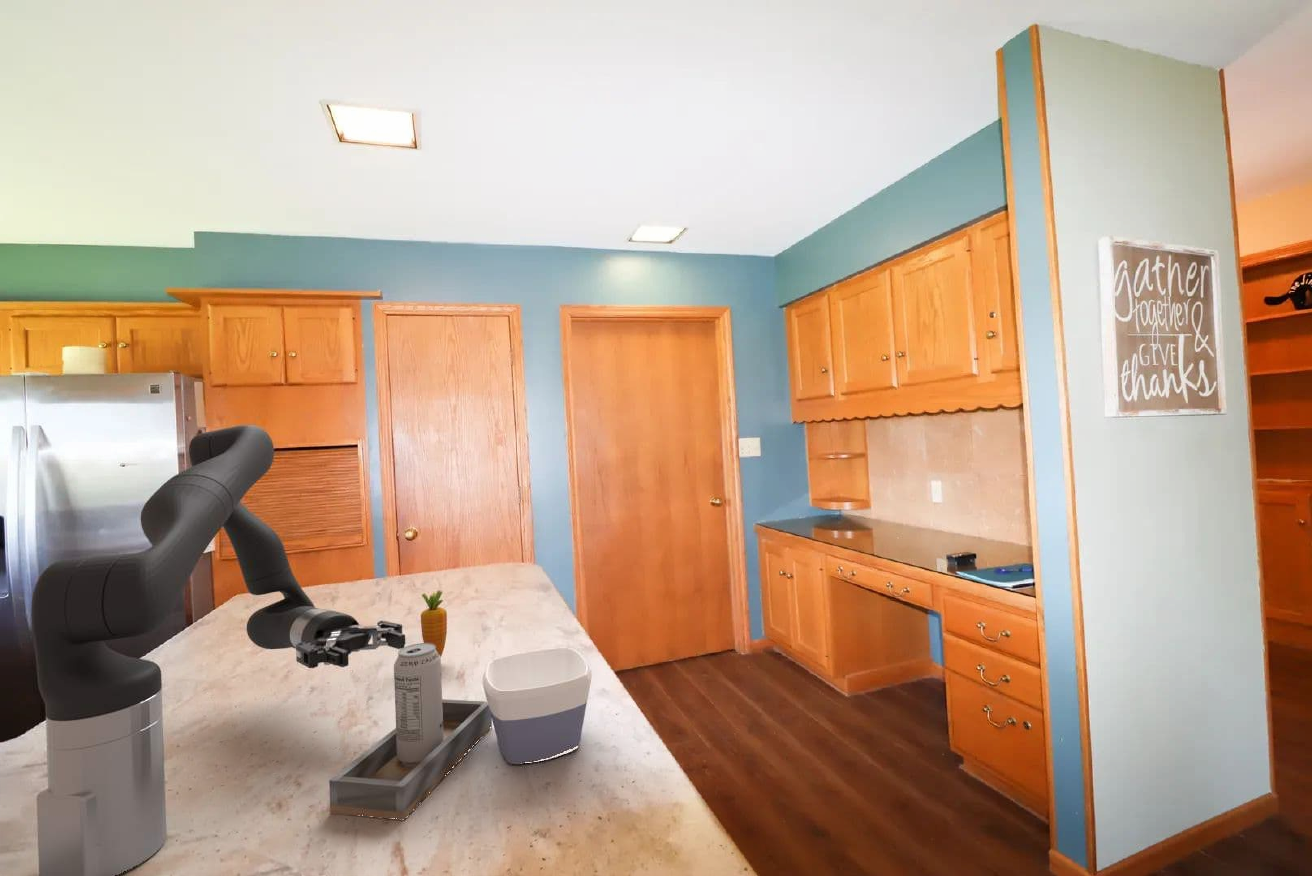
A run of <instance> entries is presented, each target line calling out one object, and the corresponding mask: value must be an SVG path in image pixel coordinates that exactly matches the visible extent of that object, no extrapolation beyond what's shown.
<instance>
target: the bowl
mask: <svg viewBox="0 0 1312 876" xmlns="http://www.w3.org/2000/svg"><path fill="white" fill-rule="evenodd" d="M592 676H593V675H592V670H591V668H590V665H589V663H588V662H587V660H586V658H585V657H583V655H582V654H581V653H579V652H578V651H577V650H575V649H573V648H571V647H554V648H553V647H552V648H543V649H537V650H528V651H523V652H519V653H513V654H509V655H504V656H501V657H497V658H494V659H492V660H490V662H489V663H488V664H487V665H486V667H485V669H484V672H483V676H482V687H483V690H484V694H485V695H484V696H485V698H486V702H487V703H488V706H489V709H490V713H491V717H492V726H493V727H494V728H493V729H494V732H495V737H496V740H497V744H498V748H499V751H500V754H501V755H502V757H503V759H504V758H505V759H504V760H505V761H506V763H508V762H509V763H508V764H510V763H511V764H510V765H512V764H521V763H525V762H534V761H538V760H541V759H546V758H550V757H552V756H555V755H557V754H560V753H563V752H564V751H567V750H569V749H573V748H574V747H576V746H578V745H579V746H580V744H579V743H581V740H582V739H581V738H582V734H583V733H582V732H583V726H584V721H585V716H586V711H587V705H588V698H589V693H590V688H591V682H592Z"/></svg>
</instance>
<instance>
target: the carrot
mask: <svg viewBox="0 0 1312 876" xmlns="http://www.w3.org/2000/svg"><path fill="white" fill-rule="evenodd" d="M442 595H443V591H442V590H440V589H438V590H437V591H436V593H435V592H433V594H430V596H429V597H428V596H427V594H426V593H422V594H421V596H422V598H423V600H424V601H425V603H426V604H427V606H428V608H426V609H425V610H423V611H422V612H421V614H420V628H421V637H422V641H423V642H422V643H431V644H434V645H435V646H436V648H435V649H436V651H437V652H438V654H439V655H440V657H441V658H442V656H443V652H444V650H445V645H446V640H447V634H448V633H447V632H448V631H447V627H448V615H447V610H446V609H445V608H443V607H442V606H440V605H441V603H443V602H444V600H443V599H440V598H441V596H442Z"/></svg>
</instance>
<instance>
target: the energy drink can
mask: <svg viewBox="0 0 1312 876" xmlns="http://www.w3.org/2000/svg"><path fill="white" fill-rule="evenodd" d="M435 648H436V646H435V645H434V644H431V643H424V642H421V643H415V644H410V645H407V646H404V648H401V649H398V653H397V654H398V656H397V658H396V660H395V661H394V664H393V676H394V679H393V680H394V681H393V682H394V683H393V684H394V707H395V709H394V711H395V728H396V742H397V758H398V759H399V760H400V761H402V764H403V765H404V766H406V767H416V766H417V765H418V764H420V763H421V762H422V761H423V760H424V759H425V758H426V757H427V756H428V755H429V754H430V753H431V752H432V751H433V750H434V749H435V748H436V747H438V746H439V745H440V744H441V743H442V742H443V741H444V737H443V709H442V699H443V690H442V689H443V688H442V686H443V685H442V662H441V661H442V660H441V659H442V656H441V657H440V655H439V654H438V652H437V651H436V649H435Z"/></svg>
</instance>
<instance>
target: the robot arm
mask: <svg viewBox="0 0 1312 876" xmlns="http://www.w3.org/2000/svg"><path fill="white" fill-rule="evenodd" d="M188 454H189V459H190V463H191V466H190V467H188V468H187V469H185V470H183V471H181V472H179V473H177V474H175V475H174V476H172V477H170V479H168V480H167V481H166V482H165V483H163V484H162V485H161V486H160V487H159V488H158V489H157V490H156V491H155V492H154V493H153V494H152V495H151V496H150V497H149V499H148V500H147V501H146V502H145V503H144V505H143V508H142V510H141V512H140V524H141V525H140V526H141V529H142V531H143V534H144V536H145V537H146V539H147V540H148V541H149V543H150V544H151V547H150V548H147V549H146V550H142V551H139V552H133V553H119V554H107V555H98V556H97V555H96V556H95V555H94V556H84V557H83V556H82V557H71V558H67V559H62V560H57V561H56V562H53V563H52V564H50V565H49V566H48V567H46V568H45V570H43V572H42V573H41V574H40V576H39V578H38V579H37V581H36V584H35V587H34V590H33V593H32V598H31V611H30V613H31V614H30V616H31V628H32V629H31V630H32V638H33V639H32V640H33V646H34V652H35V653H34V655H35V662H36V673H37V674H36V675H37V686H38V690H39V693H40V696H41V698H42V700H43V702H44V706H45V725H46V726H45V729H46V730H45V731H46V761H47V762H46V765H47V766H46V767H47V769H46V770H47V789H44V790H42V791H40V792H38V794H37V796H36V816H37V817H36V819H37V849H38V850H37V852H38V854H37V855H38V856H37V857H38V876H115V875H118V874H120V875H122V874H124V873H125V872H124V871H126V870H128V871H130V870H131V869H134V868H135V867H137V866H139V865H140V864H143V863H144V862H146V860H148V859H149V858H151V857H152V856H153V855H154V854H156V853H157V852H158V851H159V850H160V849H161V848H162V847H163V846H164V844H165V842H166V840H167V838H168V837H167V835H168V834H167V833H168V831H167V808H166V807H167V804H166V803H167V802H166V778H165V777H166V775H165V748H164V746H165V745H164V721H163V719H164V718H163V686H162V685H163V684H162V669H161V668H160V666H159V665H158V663H156V662H154V661H151V660H148V659H143V658H137V657H131V656H128V655H125V654H122V653H120V652H116V651H115V650H113V649H111V648H110V647H108V646H107V644H105V642H104V641H110V640H111V641H113V640H120V639H129V638H135V637H139V636H143V635H146V634H149V633H153V632H155V631H156V630H158V628H160V627H161V626H162V625H163V624H164V623H165V622H166V621H167V619H168V618H169V617H170V615H171V614H172V612H173V610H174V609H175V607H176V606H177V603H178V602H179V599H180V598H181V596H182V594H183V591H184V590H185V588H186V585H187V584H188V583H189V580H190V577H191V576H192V573H193V571H194V569H195V568H196V566H197V564H198V562H199V560H200V558H201V557H202V556H203V554H204V553H205V551H206V550H207V548H208V547H209V546H210V544H211V542H212V541H213V539H214V538H215V537H216V536H217V534H218V533H219V532H220V531H221V530H222V528H223V529H224V531H225V533H226V536H227V537H228V539H229V541H230V543H231V545H232V548H233V551H234V553H235V555H236V558H237V562H238V565H239V568H240V571H241V574H242V578H243V580H244V584H245V587H246V589H247V591H248V592H249V593H250V594H251V595H253V596H261V595H262V596H263V595H267V594H273V593H281V594H282V596H283V599H281V600H279V601H276V602H273V603H271V604H269V605H266V606H264V607H262V608H259V609H257V610H255V612H253V613H252V614H251V616H250V617H249V618H248V619H247V622H246V634H247V636H248V638H249V639H250V641H251V642H252V643H254V644H255V645H256V646H257V647H259V648H262V649H266V650H281V649H291V648H292V649H295V653H296V654H295V655H296V660H295V661H296V662H297V663H299V664H301V665H302V666H305V667H306V668H309V669H315V668H318V667H319V664H321V663H323V665H325V666H329V665H333V666H337V667H340V668H344V667H345V668H346V667H348V666H349V655H350V654H352V653H357V652H360V651H365V650H366V651H368V650H377V649H378V648H380V647H382V646H383V647H386V646H387V647H391V648H394V649H397V650H400V649H402V648H404V647H406V646H405V645H406V634H404V633H403V624H401V623H397V622H391V621H387V620H378V622H377V624H376V625H362V624H360V623H359V622H358V620H356V619H355V618H354V617H353V616H352V615H350V614H348V613H343V612H339V611H335V610H331V609H327V608H318V607H315V605H314V603H313V601H312V600H311V599H310V597H309V596H308V595H307V593H306V592H305V591H304V590H303V587H301V585H300V584H299V582H298V580H297V579H296V577H295V575H294V573H293V570H292V568H291V566H290V561H289V559H288V555H287V553H286V549H285V546H284V544H283V541H282V539H281V538H280V537H279V535H278V534H277V533H276V531H275V530H274V529H273V528H272V527H271V526H269V525H268V524H267V523H266V522H264V521H263V520H262V519H260V518H259V517H257V516H256V515H255V514H254V513H253V512H251V510H250V509H248V507H246V506H245V505H244V504H243V503H242V502H241V501H242V499H243V498H244V496H245V495H246V494H247V493H248V491H249V490H250V489H251V488H252V487H253V486H254V485H255V484H256V483H257V482H258V481H259V480H261V478H262V477H264V476H265V475H266V473H268V471H269V470H270V468H271V466H272V464H273V461H274V459H275V458H274V456H275V447H274V442H273V439H272V438H271V436H270V435H269V434H268V432H267V431H266V430H265V429H264V428H261V427H260V426H258V425H252V424H243V425H235V426H232V427H231V426H230V427H226V428H222V429H216V430H211V431H207V432H202V433H199V434H196V435H195V436H194V437H192V439H191V440H190V442H189V447H188ZM371 639H372V643H370V641H371ZM383 639H384V640H383ZM143 861H144V862H143ZM136 865H137V866H136ZM134 866H135V867H134ZM133 867H134V868H133ZM129 869H130V870H129ZM123 872H124V873H123ZM126 872H127V871H126ZM121 873H122V874H121ZM118 876H119V875H118Z"/></svg>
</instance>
